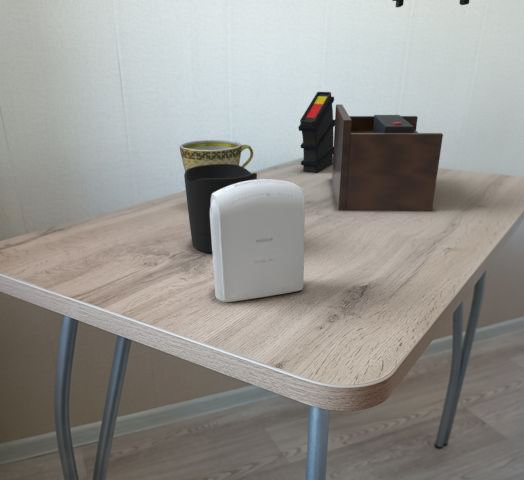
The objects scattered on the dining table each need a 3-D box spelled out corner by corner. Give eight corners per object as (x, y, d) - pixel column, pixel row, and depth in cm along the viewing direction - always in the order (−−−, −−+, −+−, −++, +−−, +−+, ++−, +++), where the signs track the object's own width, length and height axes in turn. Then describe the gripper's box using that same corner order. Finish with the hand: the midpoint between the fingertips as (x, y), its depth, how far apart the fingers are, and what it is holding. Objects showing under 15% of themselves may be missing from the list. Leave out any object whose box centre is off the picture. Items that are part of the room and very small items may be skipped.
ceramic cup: (201, 217, 88) (196, 152, 83) (174, 204, 95) (169, 143, 90) (268, 205, 94) (268, 144, 89) (239, 193, 101) (237, 136, 96)
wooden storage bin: (408, 181, 109) (418, 104, 102) (431, 212, 90) (445, 120, 83) (331, 180, 110) (335, 104, 103) (338, 211, 91) (343, 120, 84)
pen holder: (179, 253, 73) (172, 176, 68) (203, 232, 81) (199, 162, 76) (246, 259, 71) (244, 180, 66) (265, 237, 79) (265, 165, 74)
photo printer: (220, 306, 59) (214, 189, 53) (210, 291, 62) (203, 180, 56) (308, 293, 62) (312, 180, 56) (294, 279, 65) (297, 172, 59)
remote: (397, 132, 102) (399, 113, 100) (411, 146, 89) (414, 124, 87) (372, 132, 102) (374, 113, 100) (383, 146, 89) (385, 124, 87)
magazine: (339, 154, 126) (333, 91, 114) (320, 190, 119) (311, 128, 108) (323, 152, 127) (316, 90, 115) (304, 189, 121) (294, 127, 109)
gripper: (386, -147, 72) (376, 6, 81) (521, -155, 71) (497, 2, 79) (379, -132, 79) (371, 9, 87) (503, -138, 78) (483, 5, 86)
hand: (431, 5), depth 83 cm, fingers open, 9 cm apart
